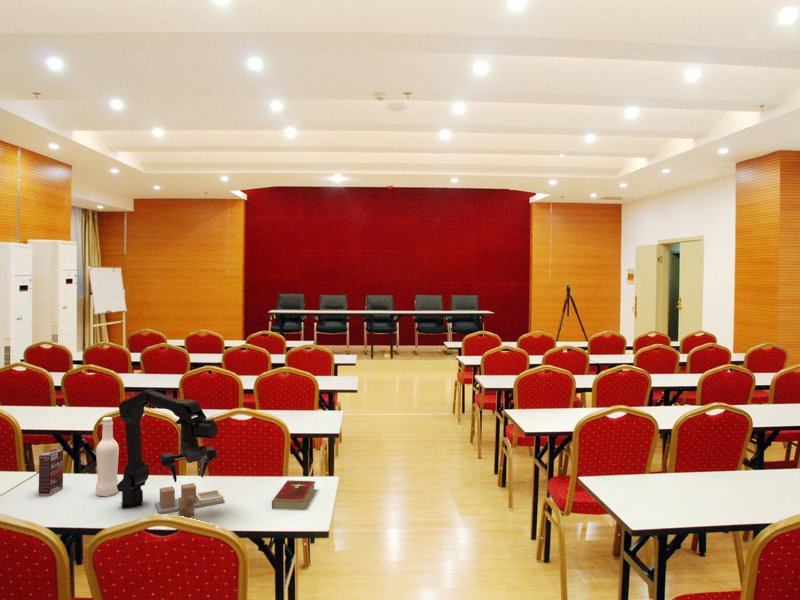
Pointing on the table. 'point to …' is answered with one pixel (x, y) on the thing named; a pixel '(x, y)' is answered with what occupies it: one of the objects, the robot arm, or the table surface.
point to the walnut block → (186, 506)
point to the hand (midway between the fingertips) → (188, 479)
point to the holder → (172, 504)
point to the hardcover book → (293, 495)
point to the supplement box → (50, 472)
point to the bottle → (107, 461)
